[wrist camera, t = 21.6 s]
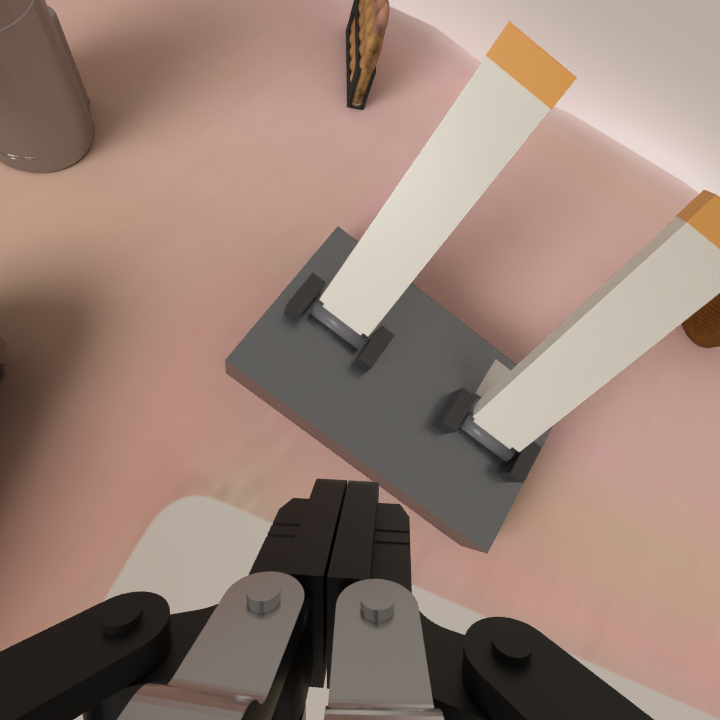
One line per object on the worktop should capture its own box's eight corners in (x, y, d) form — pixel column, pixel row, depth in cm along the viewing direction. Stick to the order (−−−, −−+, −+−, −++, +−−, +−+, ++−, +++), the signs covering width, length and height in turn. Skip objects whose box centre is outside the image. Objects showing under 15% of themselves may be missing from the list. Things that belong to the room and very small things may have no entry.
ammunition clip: (345, 29, 56) (375, -85, 44) (361, 32, 56) (394, -79, 45) (347, 107, 53) (378, 8, 42) (363, 110, 54) (398, 13, 42)
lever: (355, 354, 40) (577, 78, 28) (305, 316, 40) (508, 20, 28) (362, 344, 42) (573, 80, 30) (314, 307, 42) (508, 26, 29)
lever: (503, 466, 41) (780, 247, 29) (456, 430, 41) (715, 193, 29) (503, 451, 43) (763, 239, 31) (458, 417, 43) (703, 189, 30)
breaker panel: (460, 545, 45) (501, 557, 38) (225, 372, 43) (224, 353, 36) (533, 409, 50) (580, 398, 43) (327, 250, 48) (343, 213, 42)
